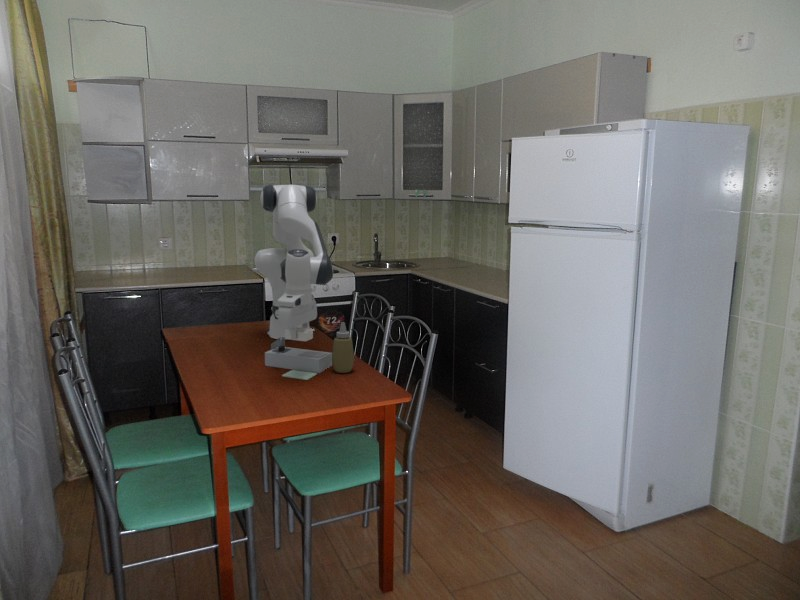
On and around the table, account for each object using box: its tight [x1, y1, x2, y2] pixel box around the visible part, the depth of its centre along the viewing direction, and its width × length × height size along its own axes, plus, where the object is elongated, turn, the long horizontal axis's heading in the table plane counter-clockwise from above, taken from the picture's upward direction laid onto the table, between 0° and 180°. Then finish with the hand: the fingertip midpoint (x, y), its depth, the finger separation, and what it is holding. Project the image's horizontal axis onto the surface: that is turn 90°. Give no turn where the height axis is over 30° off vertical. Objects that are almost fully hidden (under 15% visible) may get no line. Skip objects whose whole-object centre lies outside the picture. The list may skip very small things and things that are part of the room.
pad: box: [281, 369, 318, 381], centre depth 214 cm, size 7×10×1 cm
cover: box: [285, 327, 314, 342], centre depth 211 cm, size 5×8×4 cm, turn 69°
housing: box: [264, 346, 333, 374], centre depth 225 cm, size 10×22×5 cm, turn 69°
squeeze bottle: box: [332, 321, 355, 374], centre depth 218 cm, size 8×8×18 cm
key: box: [270, 337, 286, 350], centre depth 223 cm, size 2×10×4 cm, turn 170°
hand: (299, 336), depth 211 cm, fingers closed on cover, 5 cm apart
